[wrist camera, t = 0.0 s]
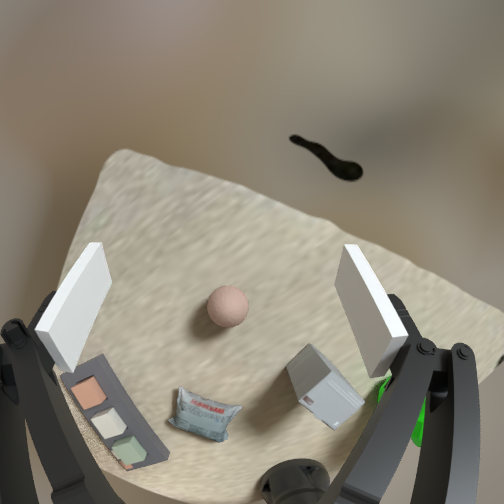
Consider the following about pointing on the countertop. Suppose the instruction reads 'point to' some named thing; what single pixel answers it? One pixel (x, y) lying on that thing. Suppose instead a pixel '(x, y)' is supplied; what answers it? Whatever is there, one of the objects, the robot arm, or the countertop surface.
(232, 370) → the countertop surface
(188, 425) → the packaged food
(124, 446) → the sage key
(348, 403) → the skincare box
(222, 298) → the egg
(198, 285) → the countertop surface
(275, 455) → the countertop surface
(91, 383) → the terracotta key
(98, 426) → the cream key
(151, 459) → the keypad board
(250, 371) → the countertop surface
